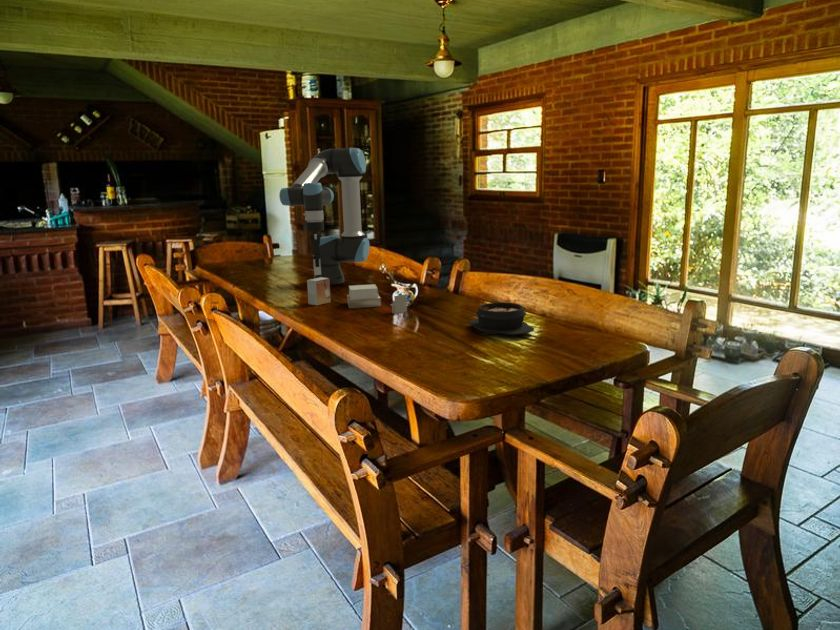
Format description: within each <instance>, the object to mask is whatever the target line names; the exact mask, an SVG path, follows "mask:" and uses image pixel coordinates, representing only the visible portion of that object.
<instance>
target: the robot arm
mask: <svg viewBox="0 0 840 630" xmlns="http://www.w3.org/2000/svg"><path fill="white" fill-rule="evenodd" d="M364 154H365V153H363V150H362V149H360V148H358V147H343V148H342V147H341V148H328V149H324V150H322V151H321V152H320V151H319V153H317V154H316V155H314V156H313V157H312V158H311V159H310V160H309V161H308V164H307V167H306V169H305V170H304V171H303V172H301V174H300V175H299V176H298V178H297V179H296V180H295V181H294V182H293V184H291V186H290V187H282V188H281V189H280V191H279V195H278V196H279V197H278V198H279V200H280V203H281V205H282V206H287V207H288V206H289V207H292V206H293V207H295V206H299V207H300V206H303V207H304V213H303V216H304V220H305V223H304V225H305V231H307V232H311V235H310V241H311V246H312V256H311V260H313V271H314V273H313V274H314V275H313V276H314V278H313V279H315V278H319V277H323V278H329V281H330V286H333V285H340V284H343V283H345V276H344V274H343V271H342V268H341V263H363V262H365V261H366V260H367V259H368V257H369V253H370V246H371V245H370V240H369V238H367V237H366V233H364V232H363V230H362V212H361V208H362V207H361V191H360V180H361V179H362V178H363V174H365V173H366V171H367V163H366V157H365V155H364ZM332 174H335V175H337V178H338V180H339V181H340V183H341V199H342V216H343V217H342V218H343V220H342V221H343V232H342V233H341V235H340V237H339V235H337V234H336V235H327V236H321V234H319V232H323V231H325V222H324V219H325V218H324V217H325V216H324V206H328V205H330V204H331V203H332V202H333V201H334V197H335V194H334V191H333V190H332V189H331V188H329V187H326V186H323V185H322V183H321V182H320V181H319V180H320V179H321V178H324V177H325V176H326V175H332Z"/></svg>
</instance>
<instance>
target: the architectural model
mask: <svg viewBox="0 0 840 630" xmlns="http://www.w3.org/2000/svg"><path fill="white" fill-rule="evenodd" d="M393 299H394V300H393V301H391V304H389V305H390V306H391V313H392V314H394V315H396V314H403V313H406V312H408V310H407V309H408V305H410V303H409V302H408V301H407V300H408V299H407V294H398V295H394V298H393Z"/></svg>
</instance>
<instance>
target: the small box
mask: <svg viewBox="0 0 840 630" xmlns="http://www.w3.org/2000/svg"><path fill="white" fill-rule="evenodd" d="M306 284H307V285H306V286H307V300H308V301H307V302H308V305H312V306H319V305H323V304H330V303H331V302H332V301H331V285H330V281H329V278H323V277H319V278H315V279H314V278H310V279H307V280H306Z"/></svg>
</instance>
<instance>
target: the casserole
mask: <svg viewBox="0 0 840 630" xmlns="http://www.w3.org/2000/svg"><path fill="white" fill-rule="evenodd" d="M475 314H476V316H477V317H476V318H473V319H471V320H469V322H468V323H469V324H470V325H472V326H473V328H475V329H476V330H479V331H481V332H484V333H486V334H491V335H499V336H500V335H501V336H505V335H509V336H517V335H519V336H520V335H524V334H528V333H529V334H530V333H531V332H533V331H534V330H535V328H534V327H533V326H531V325H529V324H528V323H527V322H525V321H524V318H525V316H526V315H527V312H526V311H525V310H524V307H523V306H522V305H520V304H518V303H512V302H489V303H483V304H481V305H479V306H478V308H477V311H475Z"/></svg>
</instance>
